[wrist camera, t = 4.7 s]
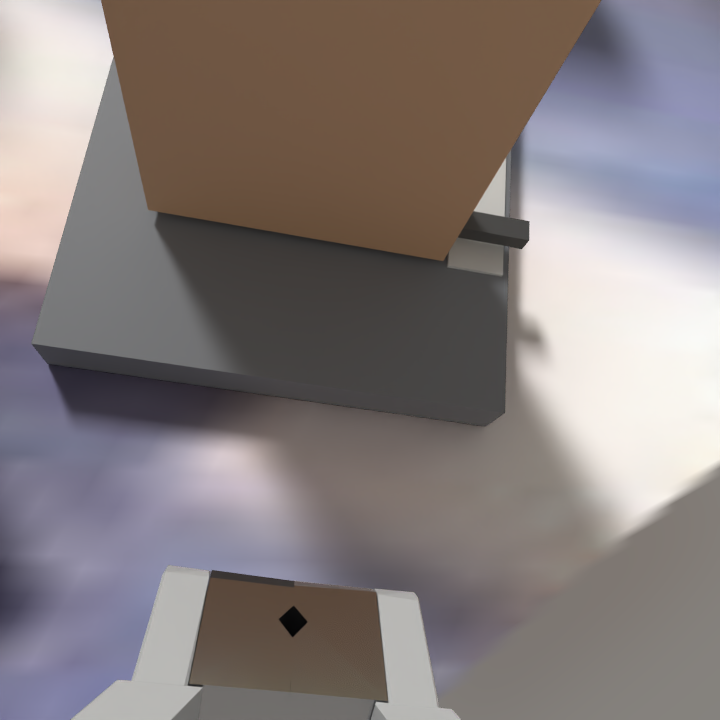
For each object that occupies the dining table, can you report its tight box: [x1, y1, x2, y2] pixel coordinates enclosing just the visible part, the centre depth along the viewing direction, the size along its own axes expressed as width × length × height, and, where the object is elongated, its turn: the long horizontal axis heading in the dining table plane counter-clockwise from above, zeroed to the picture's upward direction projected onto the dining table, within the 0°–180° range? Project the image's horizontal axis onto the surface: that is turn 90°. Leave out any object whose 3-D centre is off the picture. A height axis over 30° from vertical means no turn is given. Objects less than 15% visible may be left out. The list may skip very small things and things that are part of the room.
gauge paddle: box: [101, 0, 601, 261], centre depth 14 cm, size 2×10×10 cm, turn 84°
